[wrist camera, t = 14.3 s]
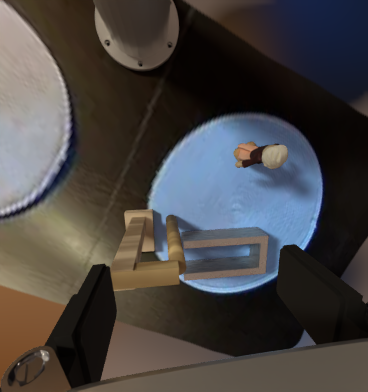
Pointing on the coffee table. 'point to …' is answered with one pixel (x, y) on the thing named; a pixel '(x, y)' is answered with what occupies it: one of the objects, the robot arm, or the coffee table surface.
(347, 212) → the coffee table surface
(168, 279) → the pin stand
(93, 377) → the robot arm
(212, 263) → the steel C-link
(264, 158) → the grandmother figurine
